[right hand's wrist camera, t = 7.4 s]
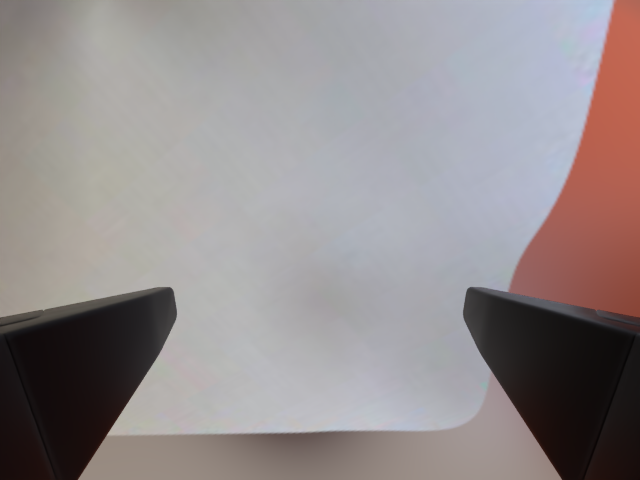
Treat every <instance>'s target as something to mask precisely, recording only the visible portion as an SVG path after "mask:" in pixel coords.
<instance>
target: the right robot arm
mask: <svg viewBox="0 0 640 480" xmlns="http://www.w3.org/2000/svg"><path fill="white" fill-rule="evenodd" d="M176 317H177V309H176V303H175V297H174V292H173V289H172V288H170V287H157V288H152V289H147V290H142V291H137V292H132V293H127V294H122V295H117V296H112V297H107V298H101V299H96V300H91V301H86V302H81V303H76V304H71V305H66V306H61V307H56V308H51V309H46V310H44V311H43V310H38V311H33V312H28V313H22V314H17V315H12V316H7V317H1V318H0V480H78V479H79V477H80V476H81V474H82V472H83V471H84V469H85V468H86V466H87V465H88V463H89V462H90V460H91V459H92V457H93V455H94V454H95V452H96V451H97V449H98V448H99V446H100V445H101V443H102V441H103V440H104V439H105V437H106V435H107V434H108V432H109V431H110V429H111V428H112V426H113V425H114V423H115V422H116V420H117V419H118V417H119V415H120V414H121V412H122V411H123V409H124V408H125V406H126V405H127V403H128V402H129V400H130V398H131V397H132V395H133V394H134V392H135V391H136V389H137V388H138V386H139V385H140V383H141V382H142V380H143V378H144V377H145V375H146V374H147V372H148V371H149V369H150V368H151V366H152V365H153V363H154V362H155V360H156V358H157V357H158V355H159V353H160V352H161V350H162V348H163V346H164V344H165V341H166V339H167V337H168V335H169V333H170V331H171V329H172V327H173V325H174V323H175V320H176ZM463 317H464V320H465V323H466V325H467V327H468V329H469V331H470V333H471V335H472V337H473V339H474V341H475V344H476V346H477V348H478V350H479V352H480V353H481V355H482V357H483V358H484V360H485V362H486V363H487V365H488V366H489V368H490V369H491V371H492V372H493V374H494V375H495V377H496V378H497V380H498V382H499V383H500V385H501V386H502V388H503V389H504V391H505V392H506V394H507V395H508V397H509V398H510V400H511V401H512V403H513V405H514V406H515V408H516V409H517V411H518V412H519V414H520V415H521V417H522V418H523V420H524V422H525V423H526V425H527V426H528V428H529V429H530V431H531V432H532V434H533V435H534V437H535V439H536V440H537V442H538V443H539V445H540V446H541V448H542V449H543V451H544V452H545V454H546V455H547V457H548V459H549V460H550V462H551V463H552V465H553V466H554V468H555V469H556V471H557V472H558V474H559V476H560V477H561V479H562V480H640V318H639V317H633V316H628V315H623V314H618V313H612V312H607V311H602V310H597V311H596V310H594V309H590V308H584V307H579V306H574V305H569V304H564V303H559V302H554V301H549V300H544V299H539V298H533V297H528V296H523V295H518V294H513V293H508V292H503V291H498V290H493V289H488V288H483V287H470V288H468V289H467V292H466V297H465V303H464V309H463Z"/></svg>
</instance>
